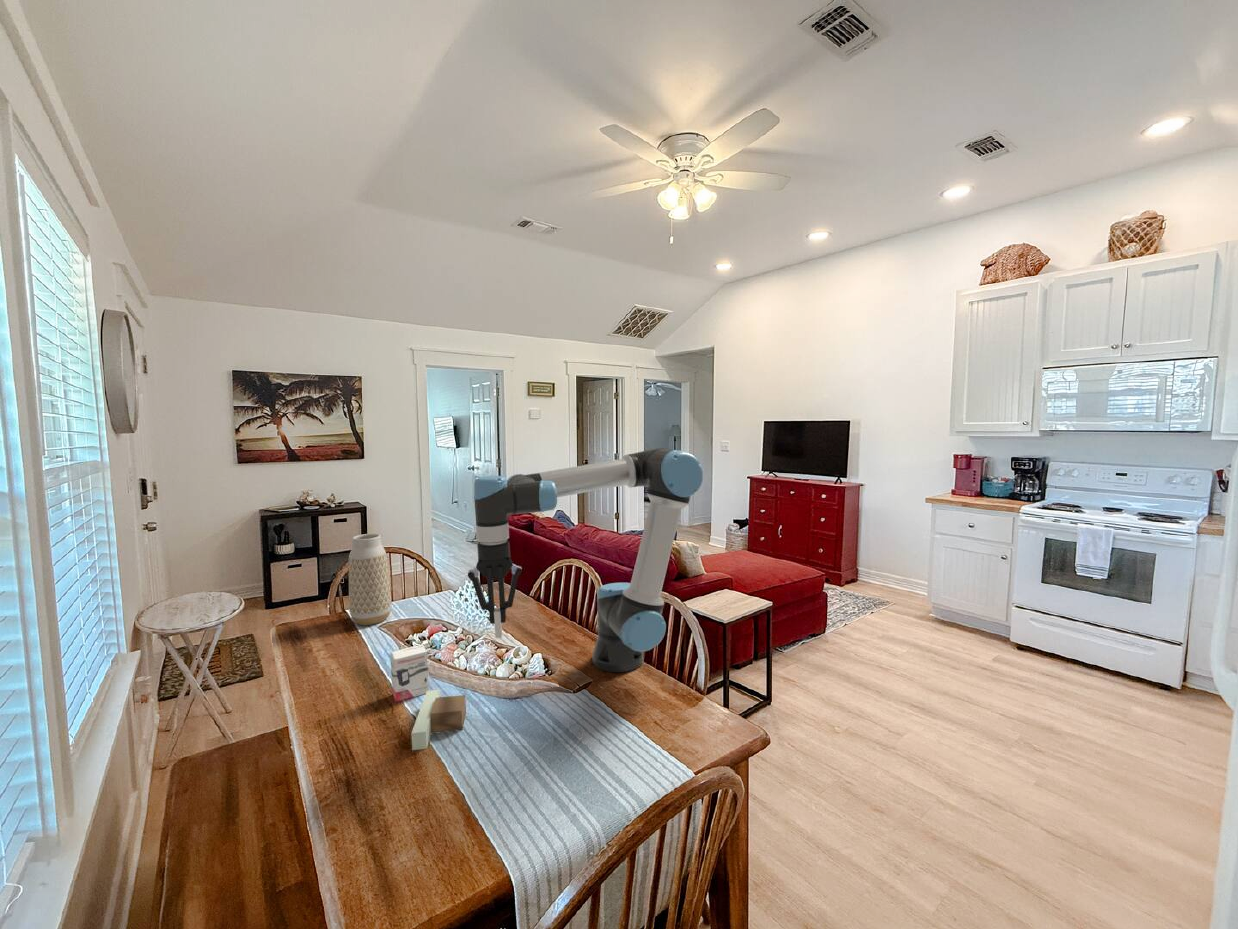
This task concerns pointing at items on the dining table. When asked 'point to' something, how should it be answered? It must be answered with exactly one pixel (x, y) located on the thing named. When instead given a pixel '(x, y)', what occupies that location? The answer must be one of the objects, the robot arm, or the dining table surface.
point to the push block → (448, 714)
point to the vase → (368, 580)
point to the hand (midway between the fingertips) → (498, 635)
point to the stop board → (424, 722)
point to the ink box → (409, 672)
